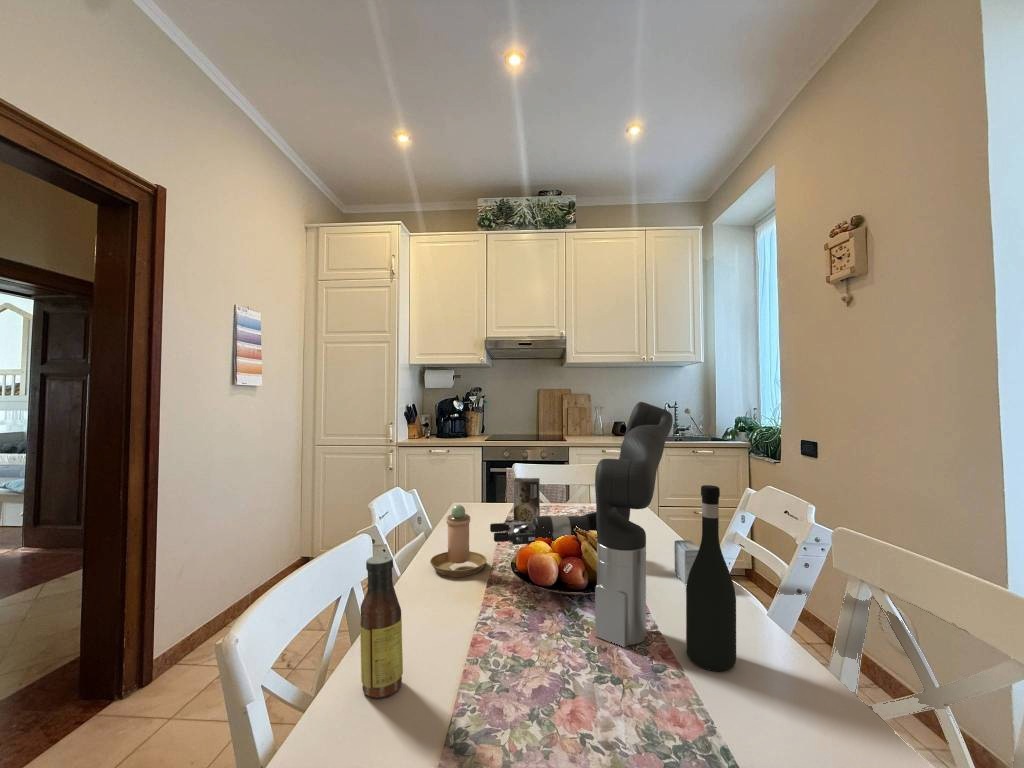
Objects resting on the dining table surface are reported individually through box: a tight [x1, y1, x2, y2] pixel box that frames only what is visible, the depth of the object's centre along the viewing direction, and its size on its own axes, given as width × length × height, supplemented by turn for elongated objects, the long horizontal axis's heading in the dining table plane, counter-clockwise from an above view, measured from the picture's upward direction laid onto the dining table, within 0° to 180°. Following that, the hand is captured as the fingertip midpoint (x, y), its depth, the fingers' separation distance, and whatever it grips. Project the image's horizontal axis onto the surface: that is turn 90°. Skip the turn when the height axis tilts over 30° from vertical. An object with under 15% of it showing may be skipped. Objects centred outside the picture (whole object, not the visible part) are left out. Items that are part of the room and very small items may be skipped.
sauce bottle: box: [359, 554, 404, 699], centre depth 73 cm, size 7×6×20 cm
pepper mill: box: [445, 504, 471, 564], centre depth 122 cm, size 6×6×14 cm
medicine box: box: [673, 539, 700, 585], centre depth 116 cm, size 8×4×9 cm, turn 179°
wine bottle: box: [685, 484, 737, 672], centre depth 81 cm, size 8×8×30 cm
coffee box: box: [512, 477, 541, 524], centre depth 163 cm, size 9×6×16 cm
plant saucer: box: [429, 550, 487, 578], centre depth 123 cm, size 15×15×3 cm
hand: (492, 532), depth 124 cm, fingers open, 8 cm apart
